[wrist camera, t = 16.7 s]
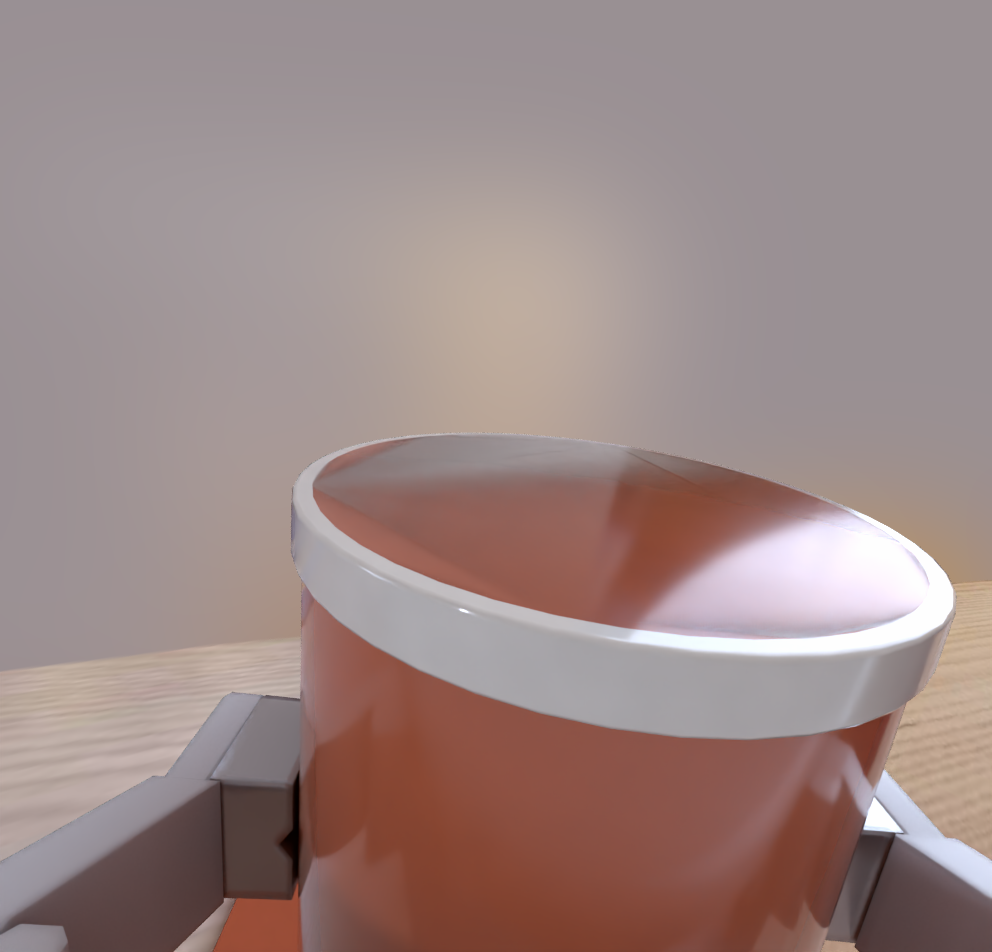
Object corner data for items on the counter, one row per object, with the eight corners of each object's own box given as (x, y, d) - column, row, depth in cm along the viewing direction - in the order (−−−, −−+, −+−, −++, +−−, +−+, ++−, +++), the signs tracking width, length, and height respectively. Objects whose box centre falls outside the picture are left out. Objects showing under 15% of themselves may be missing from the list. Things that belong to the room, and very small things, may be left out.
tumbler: (188, 1487, 6) (114, 602, 3) (351, 868, 12) (371, 417, 9) (821, 1511, 6) (1252, 703, 3) (648, 891, 12) (747, 455, 10)
